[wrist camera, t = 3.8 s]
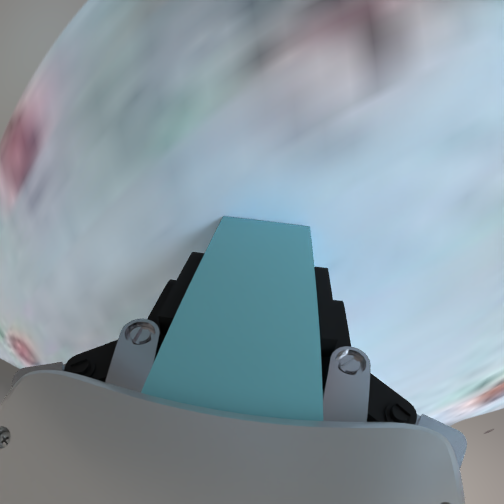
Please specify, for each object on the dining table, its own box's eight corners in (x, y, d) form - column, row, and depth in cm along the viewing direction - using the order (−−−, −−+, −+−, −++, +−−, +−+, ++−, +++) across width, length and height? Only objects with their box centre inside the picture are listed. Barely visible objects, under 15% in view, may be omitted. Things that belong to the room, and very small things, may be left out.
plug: (309, 226, 13) (323, 444, 5) (296, 294, 16) (289, 486, 7) (223, 216, 14) (132, 413, 5) (221, 285, 16) (163, 466, 7)
